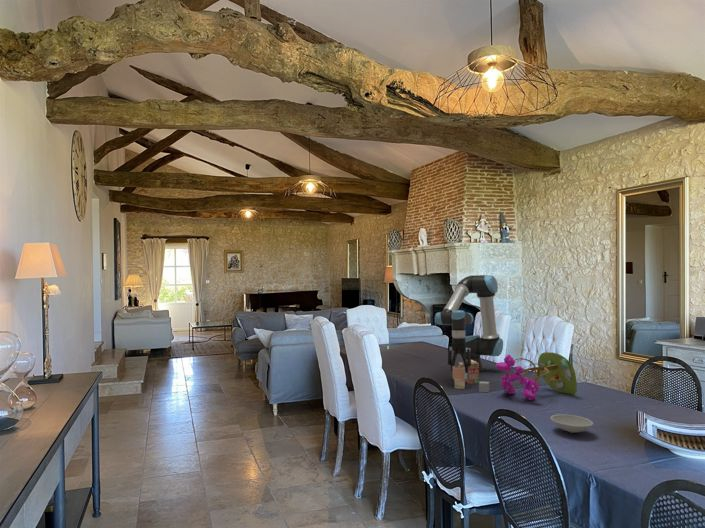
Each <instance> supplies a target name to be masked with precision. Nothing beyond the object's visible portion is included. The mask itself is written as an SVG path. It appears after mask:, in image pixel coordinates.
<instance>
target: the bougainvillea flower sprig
mask: <svg viewBox="0 0 705 528" xmlns="http://www.w3.org/2000/svg"><path fill="white" fill-rule="evenodd" d="M522 360H524V361H527V362H529V363H531V364H529V365H527V366H525V367H522V366H521V365H517V366H515V364H516V363H518V362H520V361H522ZM503 361H504V362H503ZM503 361H502V362H498V363H496V364H495V366H496V367H495V369H497V370H498V371H502V372H506V373H505V374H504V375H502V376H501V375H500V382H501V389H502V390H503V391H504V393H507V394H508V395H510V394H512V395H515V394H516V393H517V392H516V389H515V387H514V386H513V385H515V384H518V385H521V386H523V388H524V389H523V390H522V392H521V395H522V397H524V398H525V399H526V400H527V401H534V400H535V399H536V394H537V393H538V392H539V391H540V387H539V379H540V378H541V377H542V378H543V380H544V381H545V384H544V386H546V385H548V386H549V387H550V388H551V389H552V390H554V391H555V390H556V391H555V392H559V393H562V392H563V393H564V394H566V393H567V395H570V394H571V395H570V396H575V395H576V393H577V391H578V390H577V388H578V382H577V374H576V372H575V371H576V370H575V368H574V366H573V364H572V363H571V361H569V360H568V359H567V358H566V357H564V356H563V355H561V354H558V353H556V352H548V351H547V352H542V353H540V354H539V357H538V360H537V363H534V362H533V361H531V360H530V359H527V358H523V357H522V358H516V359H514V357H513V356H512V355H511V354H506V355H505V357H504V358H503ZM530 366H533V367H530ZM513 367H514V369H513ZM527 367H528V368H527ZM511 369H513V372H514V373H510V374H509V373H507V372H511V371H512V370H511ZM528 371H529V372H528ZM533 372H534V374H535V377H531V378H528V377H525V376H526V375H529V374H532V373H533ZM518 380H520V381H519V382H518ZM513 382H514V383H513Z"/></svg>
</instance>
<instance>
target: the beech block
mask: <svg viewBox="0 0 705 528" xmlns="http://www.w3.org/2000/svg"><path fill="white" fill-rule="evenodd" d="M455 388H457V390H459V389H460V390H465V388H466V381H465V379H464V380H458V379H454V389H455Z"/></svg>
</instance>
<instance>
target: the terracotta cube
mask: <svg viewBox="0 0 705 528" xmlns="http://www.w3.org/2000/svg"><path fill="white" fill-rule="evenodd" d="M452 369H453V372H452V379H453V380H455V379H458V380H464V368H463V367H458V366H456V367H455V368H452Z"/></svg>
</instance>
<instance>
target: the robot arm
mask: <svg viewBox="0 0 705 528" xmlns="http://www.w3.org/2000/svg"><path fill="white" fill-rule="evenodd" d="M498 287H499V284H498V281H497V279H496V277H495V276H494V275H491V274H483V275H481V274H480V275H478V274H477V275H468V276H465V277H464V278H462V279H461V280H460V281H458V282H457V284H456V285H455V287H454V291H453V294H452V295H451V297H450V298H449V300H448V302H447V303H446V305H445V306H444V308H443V309H442V311H439V312H436V313H435V315H434V321H435V323H436V324H437V325H441V326H451V337H452V339H451V341H452V342H451V344H452V345H451V346H449V347H447V352H448V353H447V364H448V365H449V366H450V369H451V370H450V371H451V372H452V373H453V369H452V368H455V367H457V366H456V365H455V364H456V359H457V357H458V355H460V356H461V358H462V360H463V362H464V366H465V367H463V368H464V379H466V378H467V373H468V367H469V366H471V360H473V361H476V362H477V363H479V373H480V372H483V371H484V365H483V362H482V359H481V356H484V357H485V356H489V357H499V356H501V354H502V352H503V349H504V340H503V339H502V338H500V334H498V333H497V325H496V315H495V314H496V313H495V304H494V298H495V296H496V294H497V293H498V291H499V289H498ZM469 294H476V298H478V299H479V305H480V306H479V307H480V315H481V327H482V335H479V334H474V335H467V336H466V326H470V325H472V323H474V320H475V319H474V316H473V314H472V313H470V312H465V310H459V308H460V306H461V305H462V303H463V302H464V299H466V297H467V296H469Z"/></svg>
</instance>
